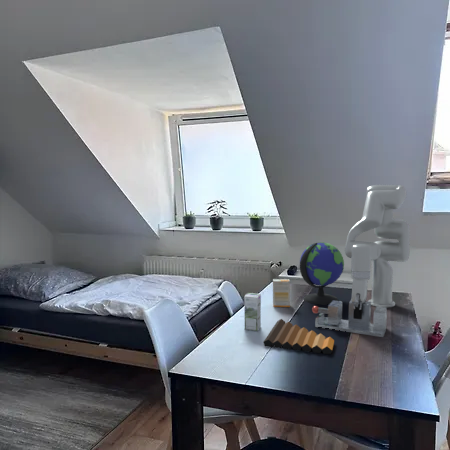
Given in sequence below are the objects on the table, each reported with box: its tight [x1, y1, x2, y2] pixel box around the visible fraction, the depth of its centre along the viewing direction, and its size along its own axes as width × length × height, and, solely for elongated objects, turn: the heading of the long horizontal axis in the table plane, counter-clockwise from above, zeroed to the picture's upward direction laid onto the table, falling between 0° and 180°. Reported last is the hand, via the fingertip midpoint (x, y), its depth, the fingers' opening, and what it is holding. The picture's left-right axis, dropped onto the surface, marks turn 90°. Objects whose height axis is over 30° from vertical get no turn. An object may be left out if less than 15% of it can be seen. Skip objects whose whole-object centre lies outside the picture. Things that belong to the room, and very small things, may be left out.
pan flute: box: [263, 318, 335, 355], centre depth 165 cm, size 25×3×25 cm
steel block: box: [348, 300, 372, 329], centre depth 175 cm, size 5×8×10 cm, turn 63°
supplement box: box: [272, 278, 291, 308], centre depth 208 cm, size 8×5×13 cm, turn 84°
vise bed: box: [314, 306, 388, 338], centre depth 176 cm, size 11×27×9 cm, turn 63°
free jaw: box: [311, 300, 343, 325], centre depth 181 cm, size 9×12×8 cm
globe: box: [299, 242, 345, 306], centre depth 217 cm, size 22×22×30 cm
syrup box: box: [243, 292, 262, 332], centre depth 176 cm, size 6×6×14 cm
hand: (359, 315), depth 175 cm, fingers open, 9 cm apart
